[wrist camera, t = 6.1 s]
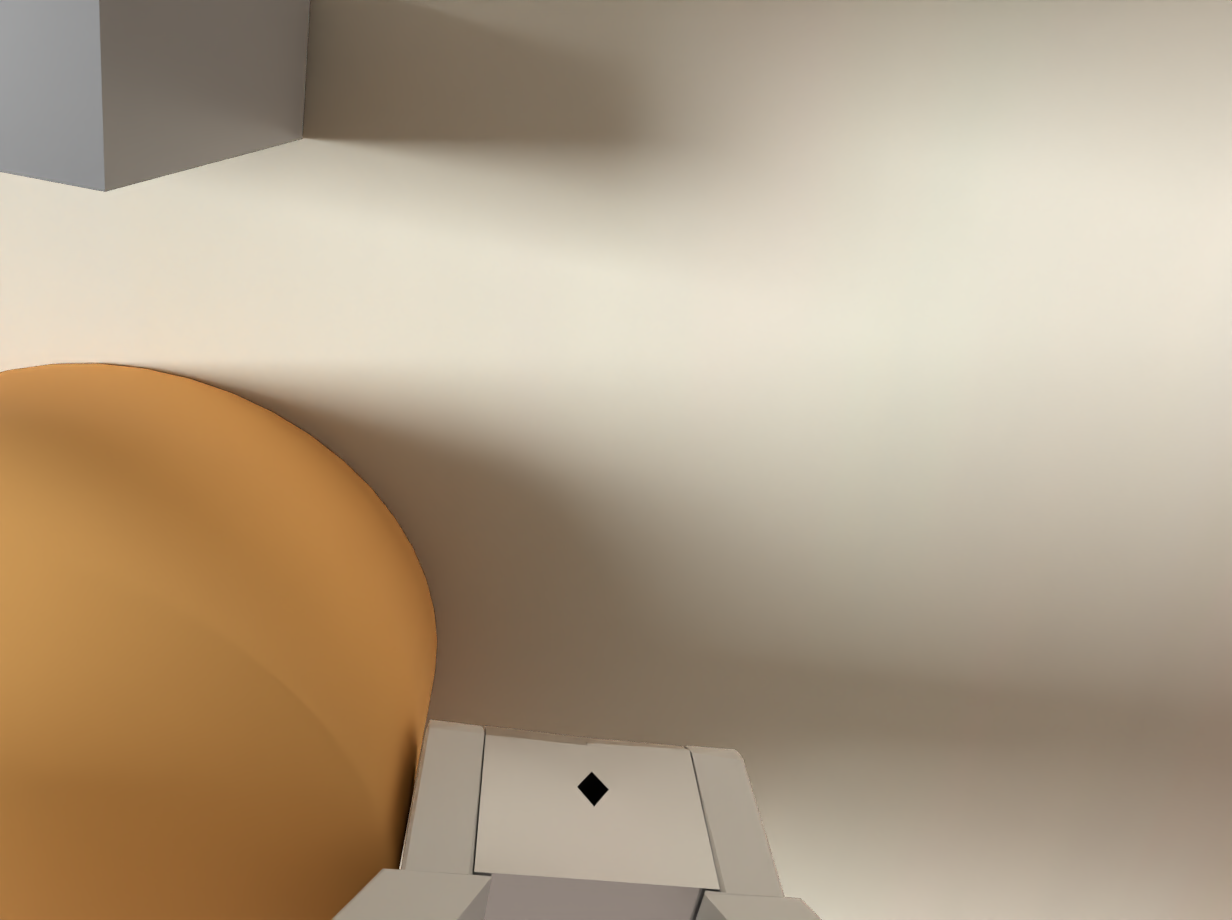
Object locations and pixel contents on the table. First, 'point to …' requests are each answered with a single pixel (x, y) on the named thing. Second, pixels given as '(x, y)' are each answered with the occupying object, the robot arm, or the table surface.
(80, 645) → the orange rounded dome
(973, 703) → the table surface
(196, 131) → the panel
